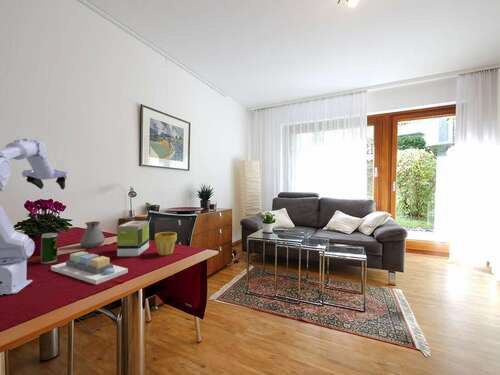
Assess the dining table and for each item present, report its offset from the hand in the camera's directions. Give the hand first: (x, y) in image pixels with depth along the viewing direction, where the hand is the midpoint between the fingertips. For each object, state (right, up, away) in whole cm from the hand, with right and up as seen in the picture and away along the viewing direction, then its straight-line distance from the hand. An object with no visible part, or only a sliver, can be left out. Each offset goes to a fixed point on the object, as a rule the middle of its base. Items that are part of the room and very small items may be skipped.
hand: (52, 187), depth 98 cm
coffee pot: (+3, -32, +20) cm, 38 cm away
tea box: (+27, -33, +16) cm, 46 cm away
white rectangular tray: (+23, -33, -10) cm, 42 cm away
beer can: (0, -32, -1) cm, 32 cm away
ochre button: (+29, -30, -13) cm, 44 cm away
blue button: (+23, -30, -10) cm, 39 cm away
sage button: (+17, -30, -8) cm, 35 cm away
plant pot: (+44, -33, +14) cm, 57 cm away
